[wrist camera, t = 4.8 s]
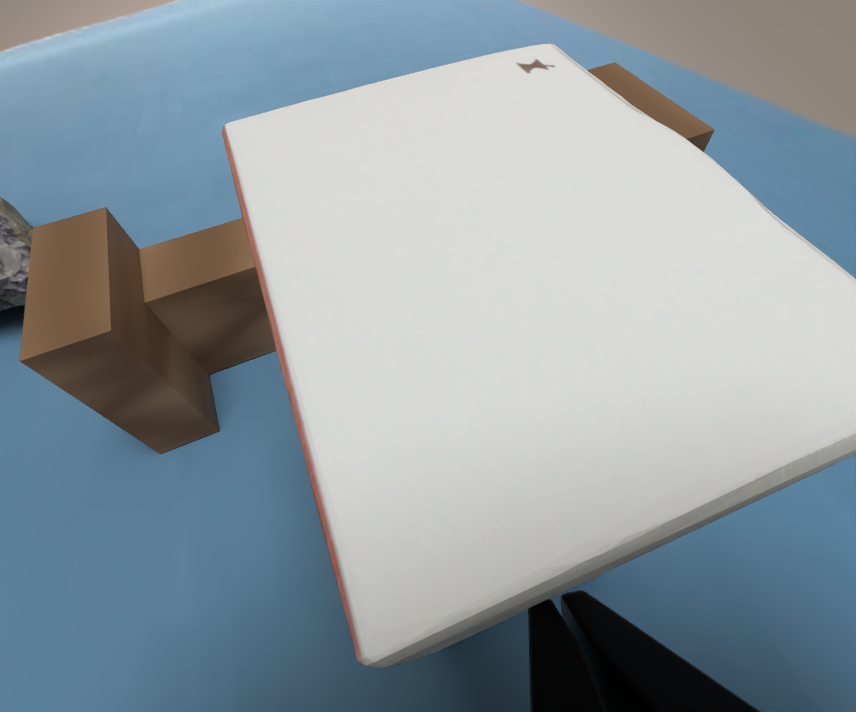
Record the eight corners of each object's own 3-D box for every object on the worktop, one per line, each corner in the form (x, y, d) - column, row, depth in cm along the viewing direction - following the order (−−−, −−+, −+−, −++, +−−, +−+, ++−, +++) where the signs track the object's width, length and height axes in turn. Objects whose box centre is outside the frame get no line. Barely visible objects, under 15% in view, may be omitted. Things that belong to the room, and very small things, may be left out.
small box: (357, 435, 18) (211, 113, 7) (498, 381, 19) (556, 29, 8) (432, 660, 14) (351, 697, 3) (608, 574, 15) (1027, 371, 4)
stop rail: (160, 453, 18) (19, 361, 12) (149, 343, 21) (32, 227, 15) (646, 265, 22) (714, 129, 17) (578, 196, 26) (614, 62, 20)
